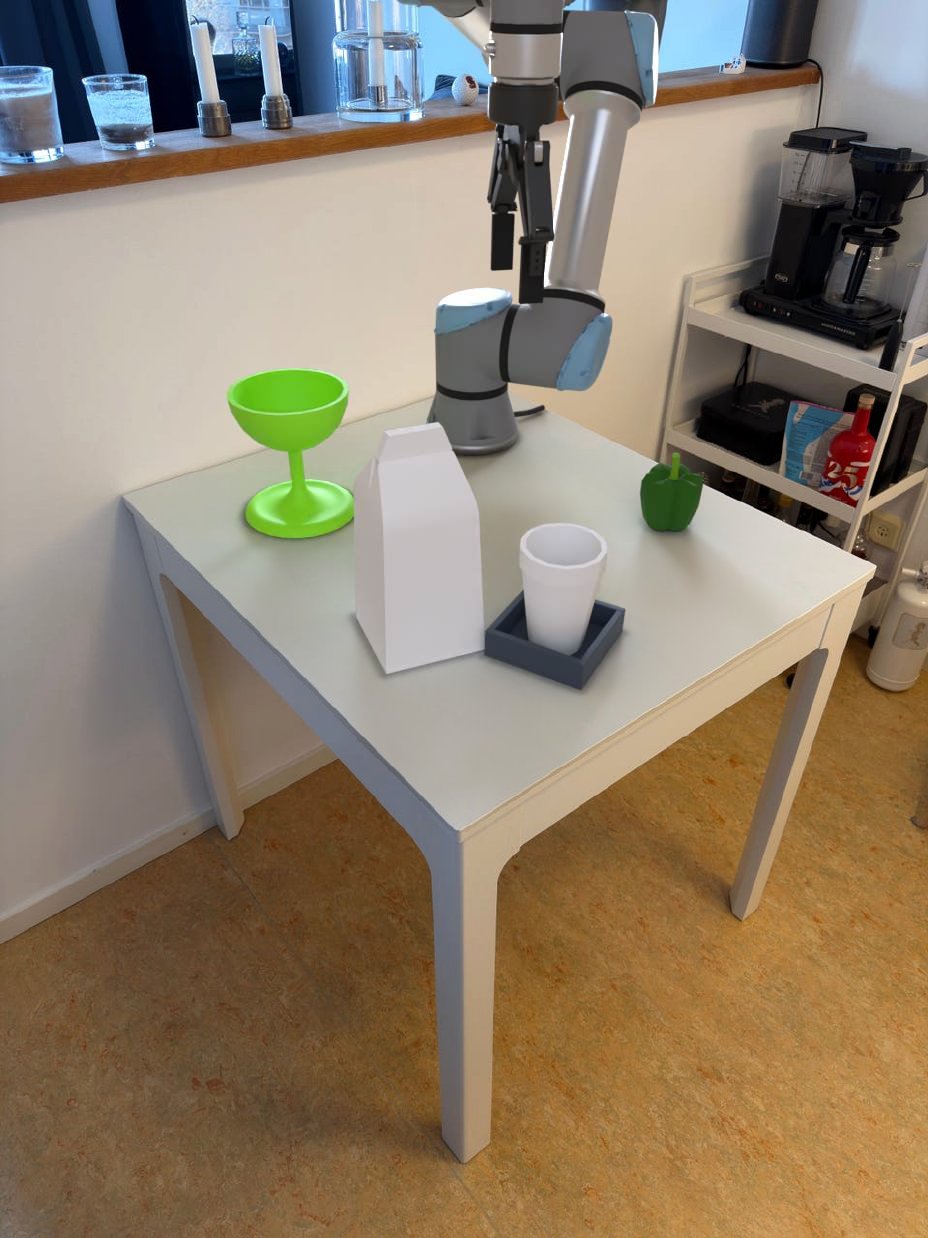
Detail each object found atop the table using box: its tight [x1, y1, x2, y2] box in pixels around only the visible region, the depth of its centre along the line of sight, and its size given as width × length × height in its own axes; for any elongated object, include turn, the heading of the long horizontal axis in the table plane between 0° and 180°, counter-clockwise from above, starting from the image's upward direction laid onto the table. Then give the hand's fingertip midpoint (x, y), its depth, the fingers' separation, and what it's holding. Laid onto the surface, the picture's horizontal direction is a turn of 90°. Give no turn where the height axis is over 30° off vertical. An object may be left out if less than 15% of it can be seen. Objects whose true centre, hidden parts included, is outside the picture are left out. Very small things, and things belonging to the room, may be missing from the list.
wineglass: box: [226, 367, 354, 539], centre depth 124 cm, size 16×16×18 cm
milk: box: [353, 422, 485, 675], centre depth 98 cm, size 12×12×26 cm
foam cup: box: [519, 522, 608, 655], centre depth 101 cm, size 10×9×13 cm
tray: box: [484, 588, 626, 691], centre depth 104 cm, size 12×12×4 cm
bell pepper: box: [639, 452, 704, 532], centre depth 124 cm, size 8×8×10 cm
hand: (515, 285), depth 108 cm, fingers open, 13 cm apart
